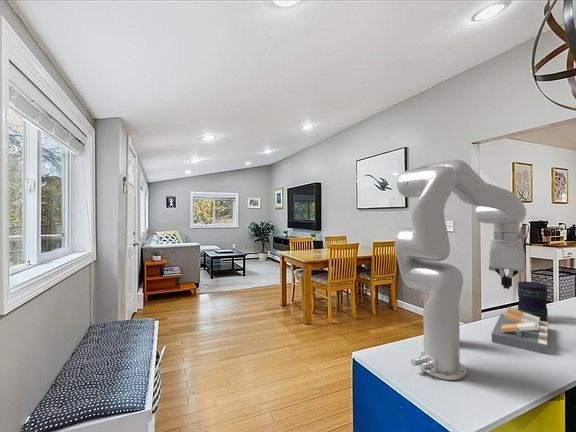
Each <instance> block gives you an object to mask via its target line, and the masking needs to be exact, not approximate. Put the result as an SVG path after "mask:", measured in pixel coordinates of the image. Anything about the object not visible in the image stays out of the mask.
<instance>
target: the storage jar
mask: <svg viewBox="0 0 576 432" xmlns="http://www.w3.org/2000/svg"><path fill="white" fill-rule="evenodd" d="M517 285H518V286H517V296H518V304H517V310H519V311H522V312H525V313H528V314H531V315H534V316H537V317H540V321H544V322H548V313H549V312H548V308H547V300H548V285H547V284H545V283H541V282H535V281H518V282H517Z"/></svg>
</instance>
